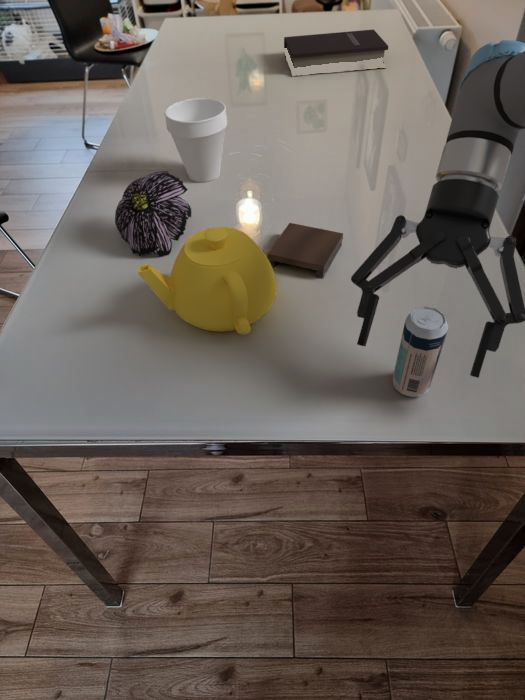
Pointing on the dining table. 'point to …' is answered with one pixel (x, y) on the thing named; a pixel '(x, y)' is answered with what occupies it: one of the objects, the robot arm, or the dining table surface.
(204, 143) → the cup
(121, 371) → the dining table surface
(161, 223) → the decorative flower
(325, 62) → the book
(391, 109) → the dining table surface
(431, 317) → the beer can
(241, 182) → the dining table surface
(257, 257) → the teapot
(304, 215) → the dining table surface
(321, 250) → the flat wooden board
